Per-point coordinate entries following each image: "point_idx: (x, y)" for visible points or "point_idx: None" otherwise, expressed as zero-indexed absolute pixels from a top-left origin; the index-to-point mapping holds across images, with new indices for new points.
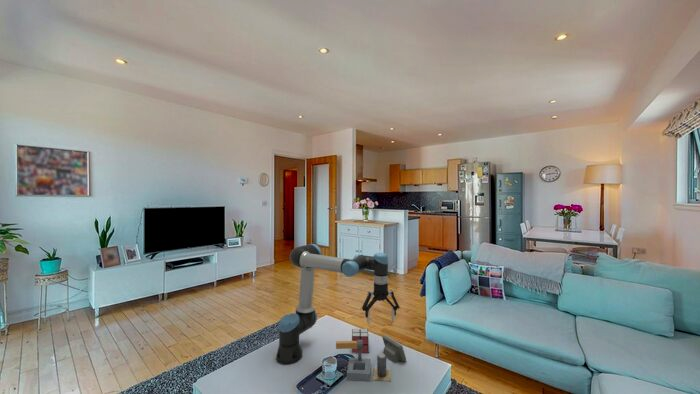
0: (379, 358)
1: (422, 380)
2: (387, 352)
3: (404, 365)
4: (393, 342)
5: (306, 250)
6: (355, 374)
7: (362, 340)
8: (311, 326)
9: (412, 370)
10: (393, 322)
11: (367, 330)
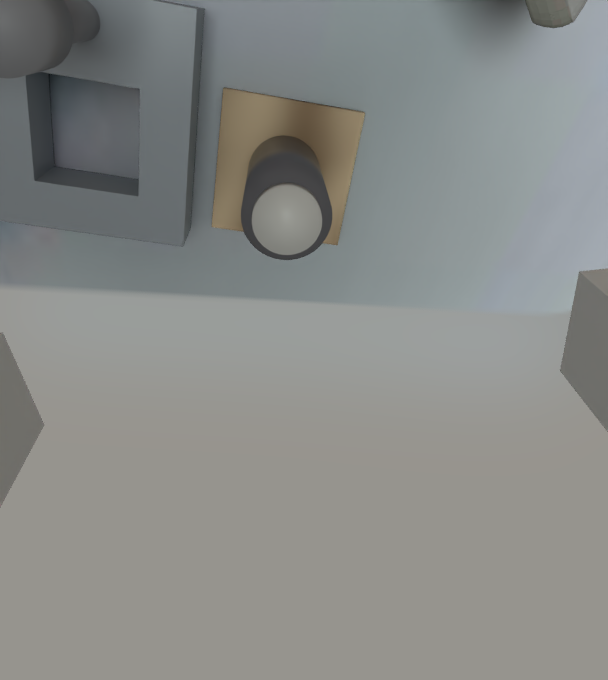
0: (260, 245)
1: (554, 243)
2: None
3: (512, 43)
4: None
5: None
6: (67, 226)
7: (34, 1)
8: None
9: (544, 124)
10: (571, 368)
11: None
